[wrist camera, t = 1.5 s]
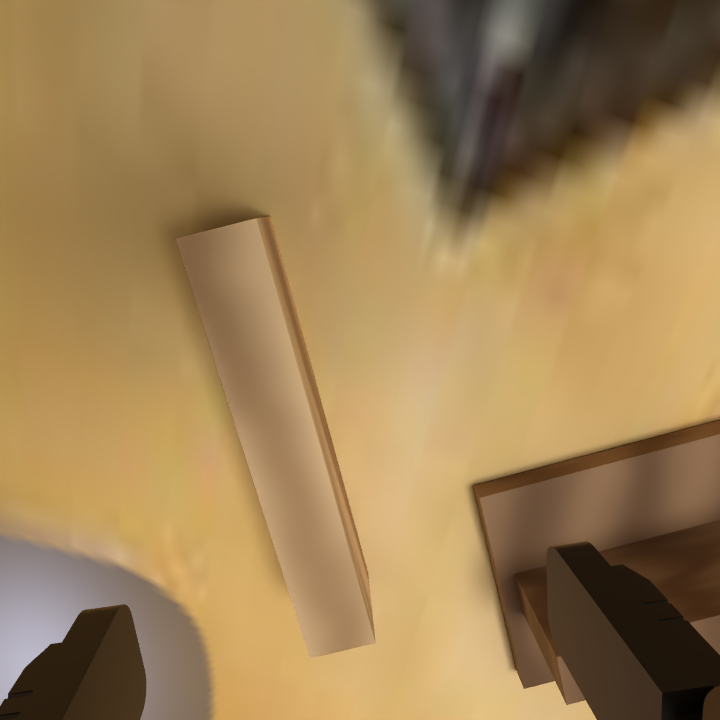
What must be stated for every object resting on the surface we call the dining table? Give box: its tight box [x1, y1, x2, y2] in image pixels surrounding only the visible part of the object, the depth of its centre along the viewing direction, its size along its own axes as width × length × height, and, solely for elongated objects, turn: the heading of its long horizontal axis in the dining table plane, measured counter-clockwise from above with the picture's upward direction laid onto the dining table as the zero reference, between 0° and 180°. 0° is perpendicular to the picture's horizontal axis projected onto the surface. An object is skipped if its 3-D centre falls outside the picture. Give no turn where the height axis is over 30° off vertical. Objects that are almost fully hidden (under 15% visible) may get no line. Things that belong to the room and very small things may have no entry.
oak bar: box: [175, 216, 375, 658], centre depth 29 cm, size 4×22×6 cm, turn 14°
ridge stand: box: [473, 420, 720, 705], centre depth 32 cm, size 18×14×8 cm
